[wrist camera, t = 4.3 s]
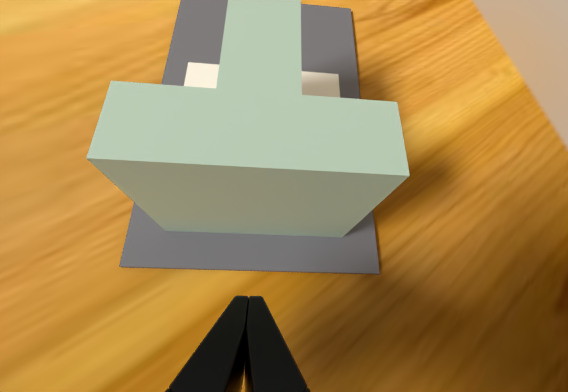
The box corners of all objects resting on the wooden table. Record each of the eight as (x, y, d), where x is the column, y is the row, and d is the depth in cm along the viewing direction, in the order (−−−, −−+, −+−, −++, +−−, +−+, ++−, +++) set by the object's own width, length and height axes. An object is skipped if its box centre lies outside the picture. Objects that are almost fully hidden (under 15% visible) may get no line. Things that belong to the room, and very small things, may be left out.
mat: (377, 274, 16) (379, 273, 16) (121, 267, 15) (119, 266, 15) (349, 12, 25) (350, 8, 25) (183, -4, 24) (182, -8, 23)
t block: (342, 237, 17) (409, 175, 9) (165, 230, 16) (86, 158, 9) (333, 100, 21) (376, -20, 13) (190, 89, 20) (151, -44, 12)
